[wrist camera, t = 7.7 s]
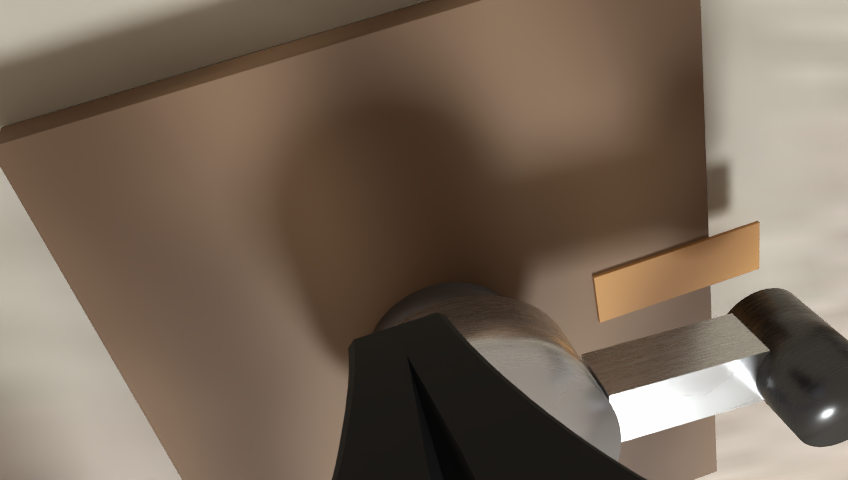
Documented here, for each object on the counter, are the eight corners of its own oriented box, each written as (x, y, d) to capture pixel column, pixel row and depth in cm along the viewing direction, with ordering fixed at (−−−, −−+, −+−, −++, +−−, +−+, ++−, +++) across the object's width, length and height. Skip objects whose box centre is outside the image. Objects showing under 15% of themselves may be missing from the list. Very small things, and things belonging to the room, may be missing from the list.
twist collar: (370, 505, 21) (397, 629, 18) (323, 331, 18) (347, 443, 15) (777, 388, 22) (868, 482, 19) (799, 209, 19) (913, 286, 16)
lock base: (269, 601, 26) (274, 680, 24) (3, 127, 17) (-32, 178, 15) (736, 433, 28) (784, 491, 25) (728, -89, 18) (805, -74, 16)
